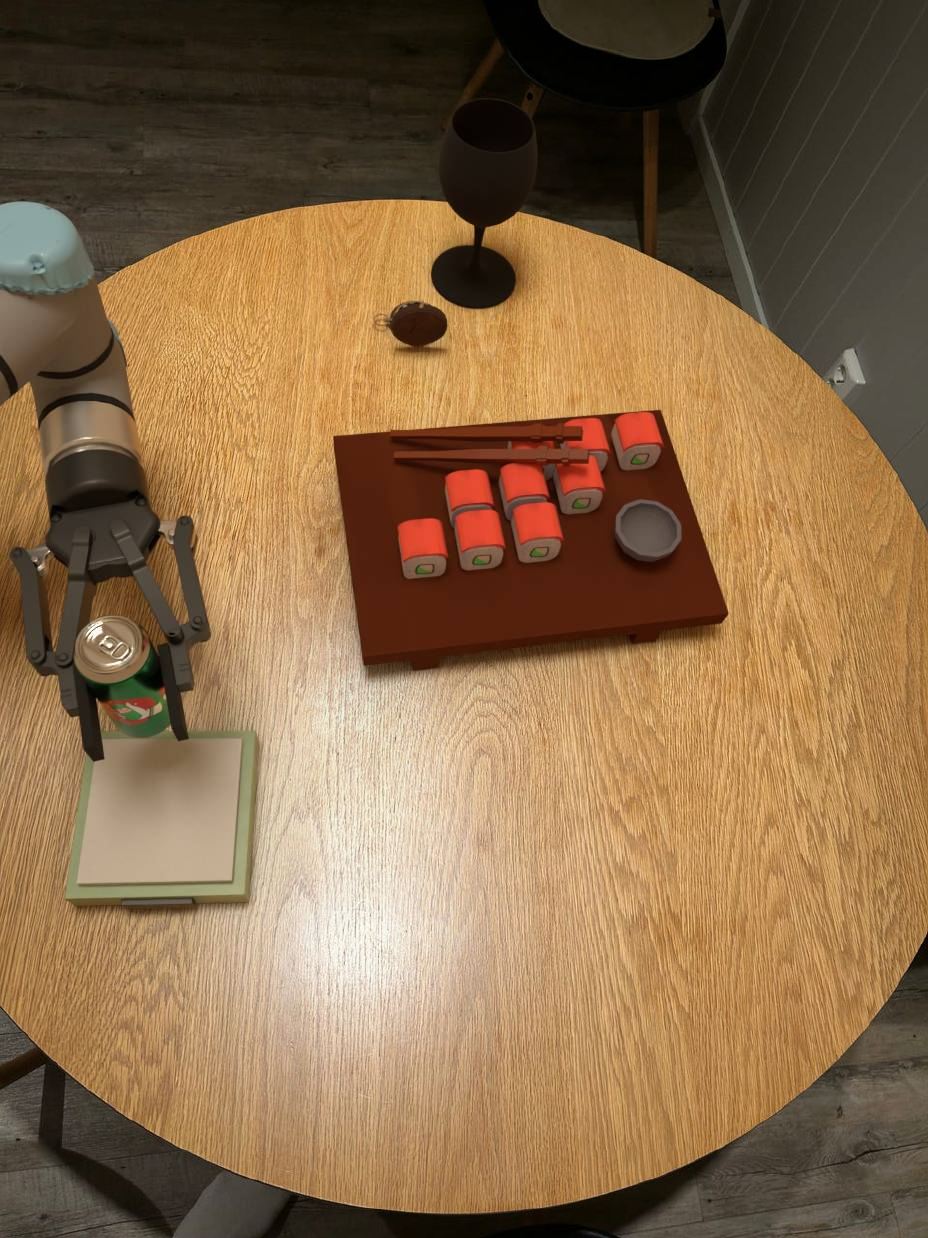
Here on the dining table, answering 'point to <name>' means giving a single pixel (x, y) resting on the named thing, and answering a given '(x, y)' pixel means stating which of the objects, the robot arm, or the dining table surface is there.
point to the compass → (416, 322)
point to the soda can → (123, 674)
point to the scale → (165, 821)
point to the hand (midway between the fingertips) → (137, 743)
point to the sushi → (520, 536)
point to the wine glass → (483, 195)
